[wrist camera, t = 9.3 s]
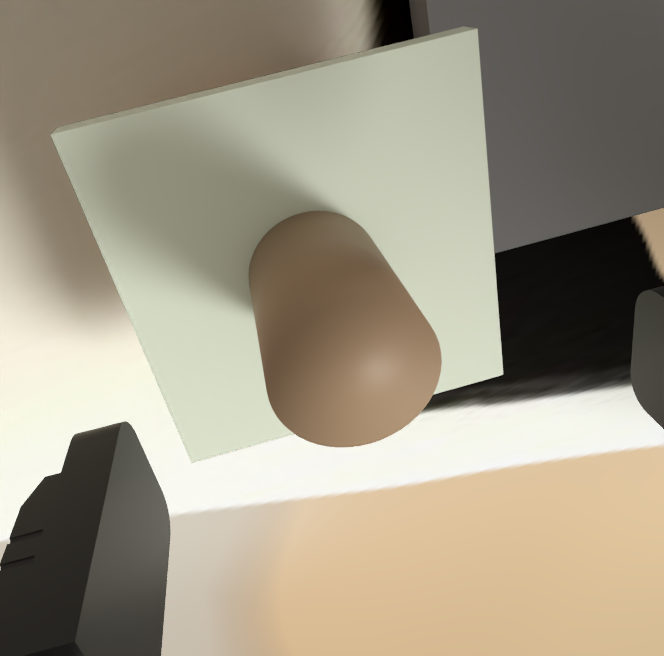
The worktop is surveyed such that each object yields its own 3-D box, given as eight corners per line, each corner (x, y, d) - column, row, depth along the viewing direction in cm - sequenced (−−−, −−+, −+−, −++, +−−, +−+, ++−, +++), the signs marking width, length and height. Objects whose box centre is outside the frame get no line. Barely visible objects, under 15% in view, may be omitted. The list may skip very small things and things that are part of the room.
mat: (763, -201, 16) (812, -217, 15) (718, 171, 21) (751, 183, 20) (394, -116, 15) (412, -125, 14) (439, 246, 21) (455, 264, 19)
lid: (463, 26, 14) (595, 46, 9) (491, 359, 18) (589, 485, 14) (58, 127, 13) (-19, 202, 8) (192, 444, 18) (189, 604, 13)
